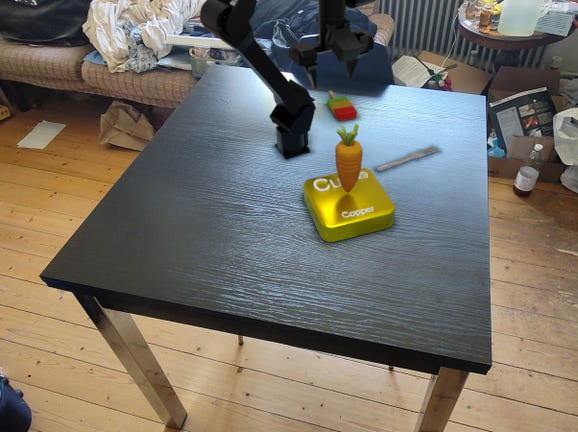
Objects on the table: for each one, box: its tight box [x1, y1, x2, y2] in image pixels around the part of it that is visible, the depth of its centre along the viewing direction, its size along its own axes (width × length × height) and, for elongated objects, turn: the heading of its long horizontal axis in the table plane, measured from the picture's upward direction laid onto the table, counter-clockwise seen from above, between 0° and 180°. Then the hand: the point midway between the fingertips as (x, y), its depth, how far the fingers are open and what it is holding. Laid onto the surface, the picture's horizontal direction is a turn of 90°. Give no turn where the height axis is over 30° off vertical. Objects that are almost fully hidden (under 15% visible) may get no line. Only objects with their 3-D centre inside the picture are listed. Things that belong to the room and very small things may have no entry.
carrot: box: [335, 123, 364, 193], centre depth 81 cm, size 5×5×15 cm
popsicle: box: [326, 90, 358, 122], centre depth 119 cm, size 6×15×2 cm, turn 19°
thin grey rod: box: [376, 146, 439, 173], centre depth 102 cm, size 17×2×1 cm, turn 120°
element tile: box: [302, 167, 396, 243], centre depth 88 cm, size 15×15×5 cm
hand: (332, 83), depth 102 cm, fingers open, 9 cm apart
